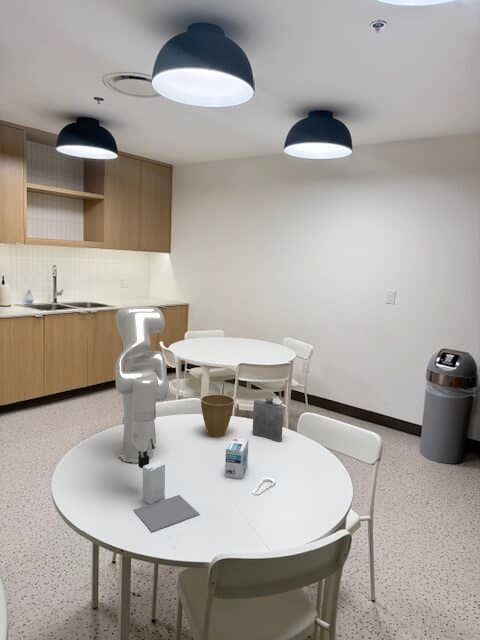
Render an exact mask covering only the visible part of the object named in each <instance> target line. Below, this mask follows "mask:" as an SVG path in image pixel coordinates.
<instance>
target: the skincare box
mask: <svg viewBox="0 0 480 640" xmlns="http://www.w3.org/2000/svg"><path fill="white" fill-rule="evenodd" d="M165 486H166V464H165V463H164V462H162V461H159V460H154V461H153V462H149V464H148V465H145V466H143V468H142V501H143V500H144V502H145V503H147V505H150V504H153V503H156V502H159V501H162V500H164V498H165V495H166V494H165V493H166V491H165V490H166V487H165ZM165 499H166V498H165Z"/></svg>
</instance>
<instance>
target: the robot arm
mask: <svg viewBox="0 0 480 640" xmlns="http://www.w3.org/2000/svg"><path fill="white" fill-rule="evenodd" d="M115 323H116V328H117V331H118V333H119V336H120V338H121V341H122V344H123V345H122V346H123V347H122V349H123V351H122V352H121V353H120V354H119V356H118V357H117V360H116V362H115V367H114V370H115V371H114V372H115V374H114V375H115V388H116V390H117V392H118V393H120V394H121V397H122V403H123V405H122V406H123V450H121V451H120V453H119V458H120V457H121V459H123V460H125V461H127V462H126V463H128V462H132V463H131V464H138V465H137V466H138V467H139V468H140V470H141V469H142V470H143V466H145V465H148V464H150V460H151V458H153V455H154V451H153V450H155V449H156V444H157V443H156V442H157V437H156V436H157V435H156V423H155V420H156V417H157V416H156V415H157V413H156V412H157V411H156V410H157V405H156V403H157V402H160V401H161V402H162V401H165V400H166V399H167V397H168V396H169V385H168V374H167V363H166V359H165V355H164V353H163V352H162V351H160V350H151V348H152V347H151V346H152V345H151V336H150V334H161V333H163V331H164V329H165V325H166V323H165V317H164V314H163V312H162V311H161V309H160V308H159V307H158V306H157V307H156V306H144V307H143V306H141V307H140V306H127V307H123V308H119V309H118V310H117V311H116V313H115ZM121 459H120V460H121ZM123 460H122V461H123ZM125 461H124V462H125Z"/></svg>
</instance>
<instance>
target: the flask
mask: <svg viewBox="0 0 480 640" xmlns="http://www.w3.org/2000/svg"><path fill="white" fill-rule="evenodd" d="M252 412H253V413H252V414H253V416H252V433H251V435H253V436H255V437H259V438H263V439H267V440H270V441H274V442H277V443H282V441H283V425H284V424H283V423H284V405H281V404H279V403H276V402H274V398H273V397H265V400H260V399H253V411H252Z"/></svg>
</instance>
